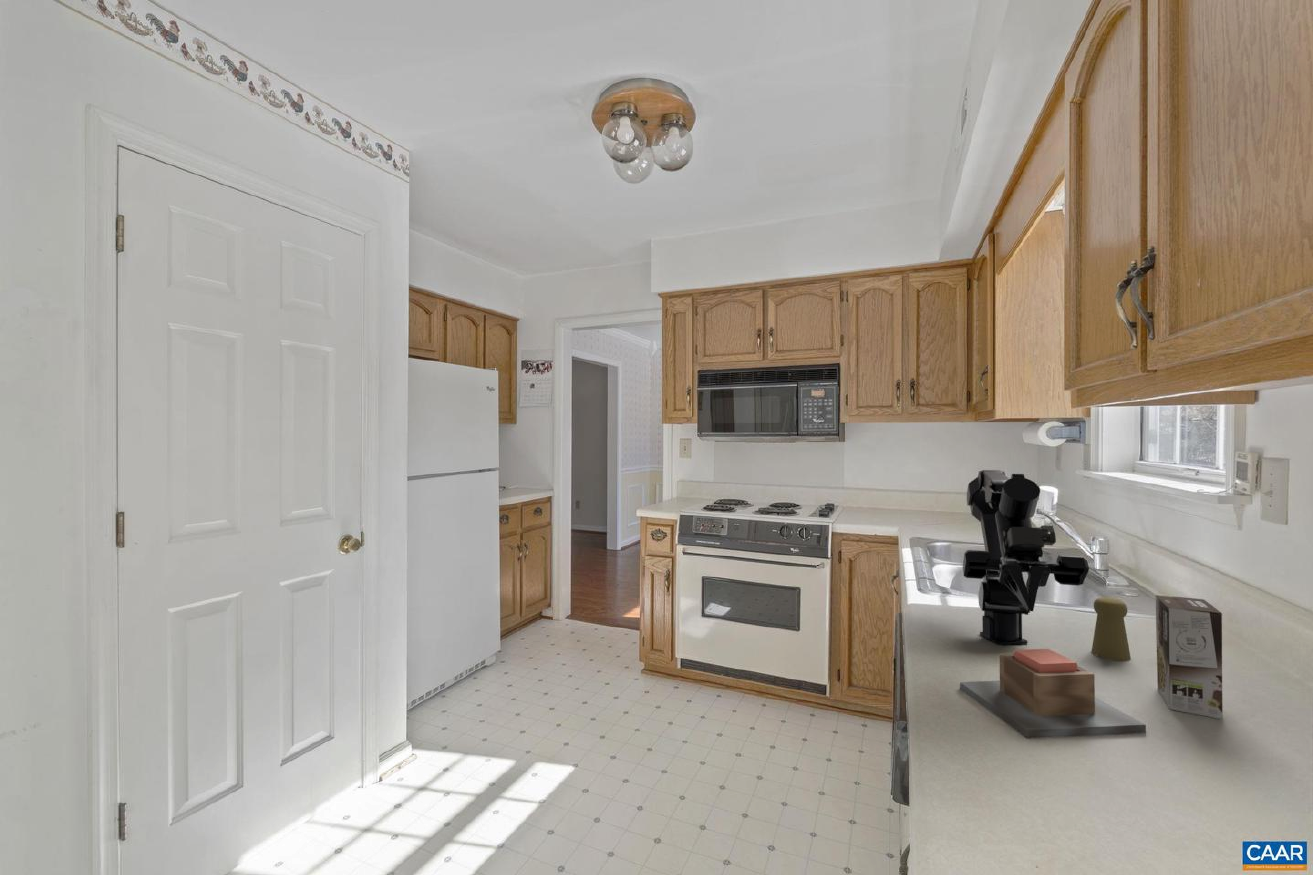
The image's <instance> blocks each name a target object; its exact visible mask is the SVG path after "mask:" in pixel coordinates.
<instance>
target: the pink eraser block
mask: <svg viewBox="0 0 1313 875" xmlns="http://www.w3.org/2000/svg"><path fill="white" fill-rule="evenodd" d="M1013 653H1014V659H1016V660H1018V661H1020V662H1021V663H1023V664H1025V665H1027V666H1029V667H1030V668H1032V669H1034V670H1036V671H1038V672H1039V673H1051V672H1077V666H1078V663H1077V662H1076V661H1074V660H1072V659H1070V658H1068V657H1066V656H1064V655H1062V654H1060V653H1058V652H1056V651H1053V650H1052V649H1050V648H1035V649H1034V648H1031V649H1028V648H1027V649H1014V652H1013Z"/></svg>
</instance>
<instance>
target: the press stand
mask: <svg viewBox="0 0 1313 875" xmlns="http://www.w3.org/2000/svg"><path fill="white" fill-rule="evenodd" d="M998 656H999V680H983V681H981V680H979V681H978V680H977V681H960V682H959V690H961V691H962V692H964V693H965V694H966V695H967V696H969V697H970V698H971V699H973V700H974V701H976V702H977V703H978V704H979V705H981V706H983V708H985V709H986V710H988V711H989V712H990V713H992V714H993V715H995V716H996V717H997V718H998V719H999V720H1001V721H1003V722H1004V723H1005V724H1007V725H1008V726H1010V727H1011V728H1012V729H1013V730H1015V731H1016V732H1017V733H1019V734H1020V735H1021V736H1023V737H1024V738H1026V739H1039V738H1040V739H1041V738H1042V739H1043V738H1045V739H1046V738H1061V737H1066V738H1067V737H1082V736H1083V737H1085V736H1086V737H1088V736H1089V737H1090V736H1105V735H1106V736H1109V735H1110V736H1111V735H1130V734H1131V735H1132V734H1133V735H1134V734H1146V733H1147V724H1146V723H1144V722H1141V721H1140V720H1139V719H1136V718H1134V717H1132V716H1131V715H1129V714H1127V713H1125V712H1123V711H1122V710H1120V709H1118V708H1117V707H1114V706H1112V705H1111V704H1109V703H1107V702H1105V701H1104V700H1101V699H1100V698H1098V697H1096V696H1095V695H1096V693H1095V686H1096V685H1095V682H1096V681H1095V673H1093V672H1092V671H1090V670H1087V669H1085V668H1083V667H1081V666H1079V665H1077V672H1051V673H1039V672H1038V671H1036V670H1034V669H1032V668H1030V667H1029V666H1027V665H1025V664H1023V663H1021V662H1020V661H1018V660H1016V659H1014V652H1013V653H999V655H998Z"/></svg>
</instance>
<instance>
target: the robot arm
mask: <svg viewBox="0 0 1313 875" xmlns="http://www.w3.org/2000/svg"><path fill="white" fill-rule="evenodd" d="M977 474H978V475H977V477H976V478H974V479H972V480H971V481H970V482H969V483H968V485H967V491H966V505H967V506H969V507H970V512H971V513H970V514H971V516H973V517H974V518H975V519H976V520H978V521H979V522H980V526H981V534H982V539H983V546H984V549H985V550H977V549H976V550H974V549H967V550H966V551H965V552H964V554H963V559H962V560H963V561H962V573H963V577H964V578H966V579H976V580H977V579H979V580H980V579H981V580H982V579H983V580H982V581H981V582H980V584H979V590H978V595H977V596H978V597H977V598H978V607H979V608H980V610H981V611H982V612H983V615H982V621H981V622H982V623H981V625H982V631H979V635H981V636H982V637H984V638H986V639H988V640H990V641H991V642H994V643H995V644H997V645H1021V644H1028V642H1029V641H1028V640H1027V639H1025V638H1023V615H1026V616H1029V614H1030V613H1031V612H1034V609H1035V604H1036V600H1037V595H1038V590H1039V588H1040V587H1046V585H1047V584H1048V580H1049V577H1050V574H1052V575H1053V577H1054V581H1055V582H1057V583H1058V584H1060V585H1063V586H1064V585H1065V586H1066V585H1067V586H1078V587H1079V586H1080V585H1083V584H1084V582H1085V580H1086V577H1087V575H1088V574H1089V571H1090V566H1089V563H1088V560H1087V559H1086V558H1085V557H1084V556H1081V555H1066V554H1058V555H1057V558H1056V561H1044V560H1043V561H1042V560H1041V559H1040V558H1043V555H1044V552H1043V551H1044V550H1043V548H1044V547H1045V546H1054V544H1056V542H1057V541H1056V540H1057V537H1056V533H1055V529H1054V525H1045V524H1043V525H1041V526H1039V527H1033V526H1032V521H1031V520H1032V519H1031V518H1033V516H1034V515H1035V513H1036V509H1037V505H1038V501H1039V500H1040V494H1041V488H1040V486H1039V485H1038V484H1037V483H1036V482H1035V481H1033V480H1031V479H1028V478H1026V477H1025V474H1024V473H1011V476H1010V478H1009V477H1008V476H1006V473H1005V471H1004V470H1000V469H998V470H997V469H981V470H979V471H978V473H977ZM1040 560H1041V561H1040ZM1023 573H1025V574H1027V579H1026V582H1025V579H1024V576H1023V575H1024V574H1023Z"/></svg>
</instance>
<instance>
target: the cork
mask: <svg viewBox="0 0 1313 875" xmlns="http://www.w3.org/2000/svg"><path fill="white" fill-rule="evenodd" d="M1093 609H1094V612H1095V613H1096V621H1095V626H1094V634H1093V640H1092V647H1091V653H1092V655H1095V656H1097V657H1100V658H1103V659H1106V660H1111V661H1118V662H1119V661H1121V662H1127V661H1130V660H1131V658H1132V657H1131V652H1130V648H1129V646H1130V645H1129V642H1128V635H1127V629H1126V623H1125V619H1124V618H1125V617H1126V616H1128V607H1127V604H1126V603H1125V602H1124V601H1123V600H1121V599H1117V598H1114V597H1105V596H1104V597H1102V596H1101V597H1098V598H1096V599H1095V600H1094V601H1093Z"/></svg>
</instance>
